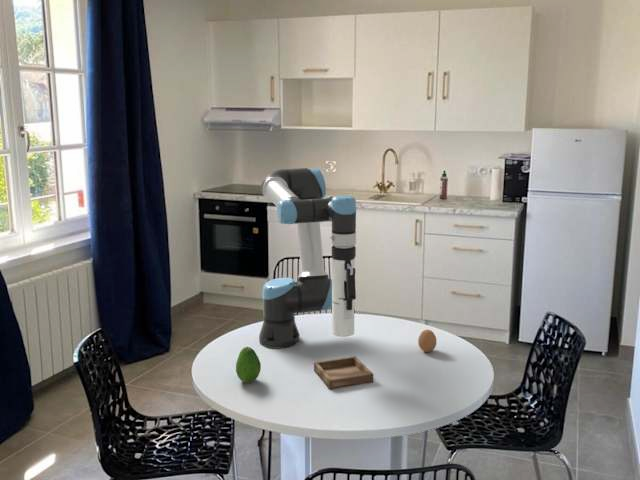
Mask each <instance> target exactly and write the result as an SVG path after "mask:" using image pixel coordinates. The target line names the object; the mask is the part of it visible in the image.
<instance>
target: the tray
mask: <svg viewBox="0 0 640 480" xmlns="http://www.w3.org/2000/svg"><path fill="white" fill-rule="evenodd" d="M313 371H314V372H315V374H316V375H317V376H318V378H319V379H320V380H321V381H322V382H323V384H324V385H325V386H326V387H327V388H328V390H330V391H331V390H336V389H337V390H338V389H342V388H347V387H354V386H355V387H356V386H361V385H366V384H373V383H374V373H373V372H372V370H371V369H369V368H368V367H367V366H366V365H365V364H364V363H363V362H362V361H361V360H360V359H359V358H358V357H357V356H356V355H354V356H348V357H342V358H334V359H329V360H322V361H315V362H313Z"/></svg>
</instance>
